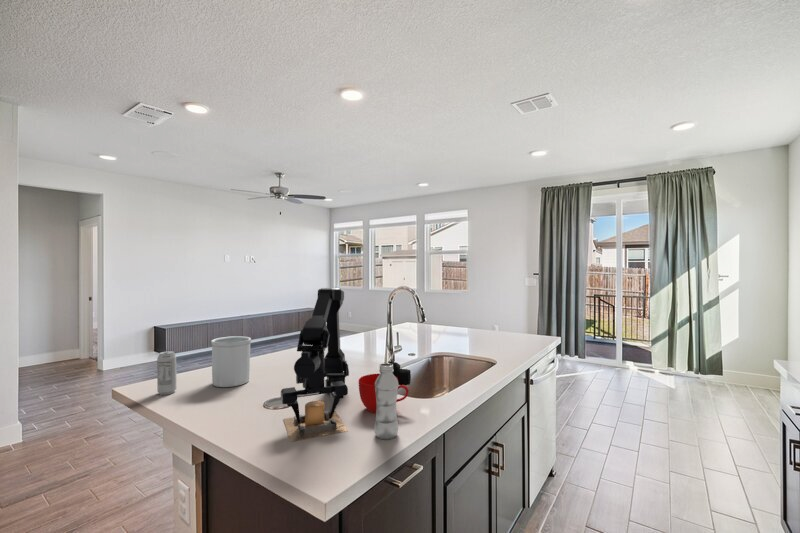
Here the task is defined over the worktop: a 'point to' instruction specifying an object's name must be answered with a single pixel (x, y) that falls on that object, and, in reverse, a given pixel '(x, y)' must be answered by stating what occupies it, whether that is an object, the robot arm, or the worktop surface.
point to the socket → (313, 427)
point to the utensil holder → (230, 361)
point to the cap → (314, 413)
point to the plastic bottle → (386, 403)
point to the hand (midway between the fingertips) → (314, 420)
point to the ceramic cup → (372, 391)
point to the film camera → (401, 374)
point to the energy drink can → (166, 373)
